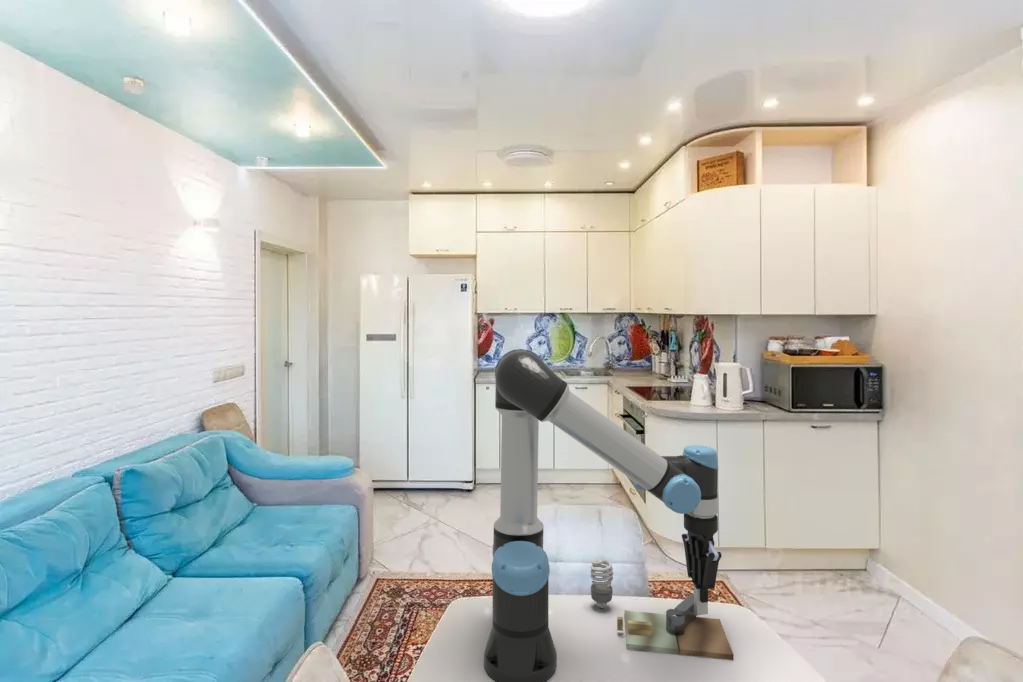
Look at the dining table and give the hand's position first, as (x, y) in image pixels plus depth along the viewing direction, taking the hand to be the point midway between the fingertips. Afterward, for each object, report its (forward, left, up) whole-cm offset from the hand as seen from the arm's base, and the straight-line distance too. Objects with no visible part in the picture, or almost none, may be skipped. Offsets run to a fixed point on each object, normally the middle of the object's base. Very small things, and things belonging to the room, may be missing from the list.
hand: (700, 613), depth 126 cm
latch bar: (-4, -1, -2) cm, 5 cm away
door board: (-6, -5, -3) cm, 9 cm away
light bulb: (-23, +4, -3) cm, 24 cm away
